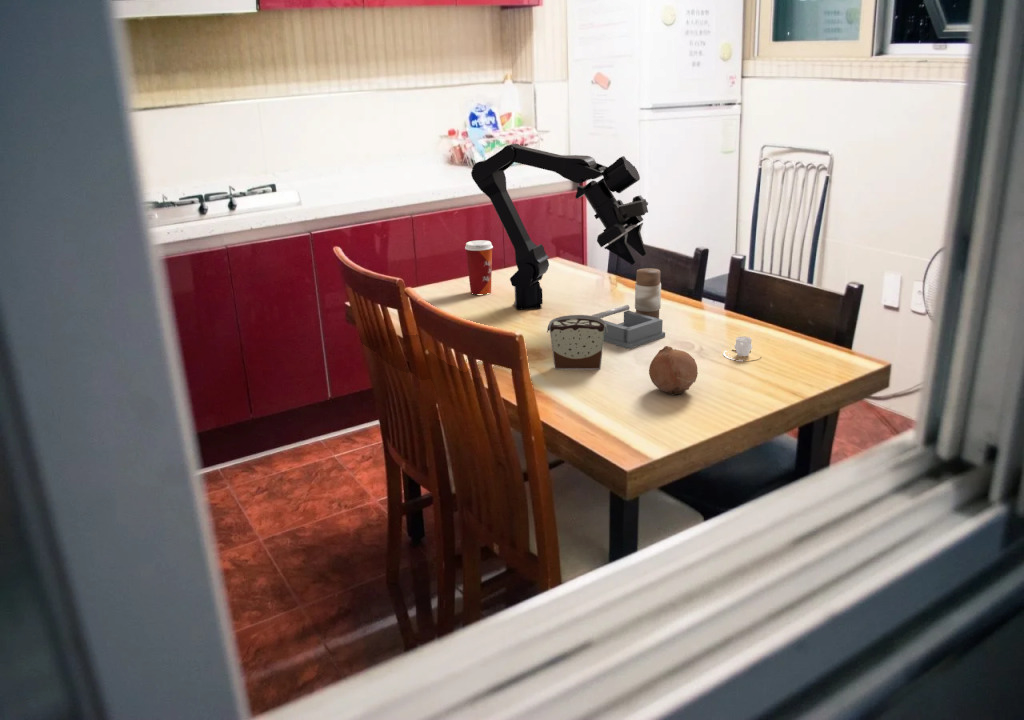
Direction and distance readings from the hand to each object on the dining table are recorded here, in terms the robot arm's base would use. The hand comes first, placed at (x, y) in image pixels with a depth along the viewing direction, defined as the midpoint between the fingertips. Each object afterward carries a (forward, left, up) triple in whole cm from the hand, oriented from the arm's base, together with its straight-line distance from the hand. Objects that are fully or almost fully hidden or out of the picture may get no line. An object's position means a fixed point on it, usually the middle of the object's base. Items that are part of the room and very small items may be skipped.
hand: (639, 259), depth 199 cm
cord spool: (+1, -5, -14) cm, 15 cm away
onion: (-5, -48, -15) cm, 51 cm away
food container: (-20, -30, -15) cm, 39 cm away
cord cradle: (-6, -14, -14) cm, 21 cm away
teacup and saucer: (+18, -31, -15) cm, 39 cm away
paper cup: (-36, +31, -14) cm, 50 cm away
